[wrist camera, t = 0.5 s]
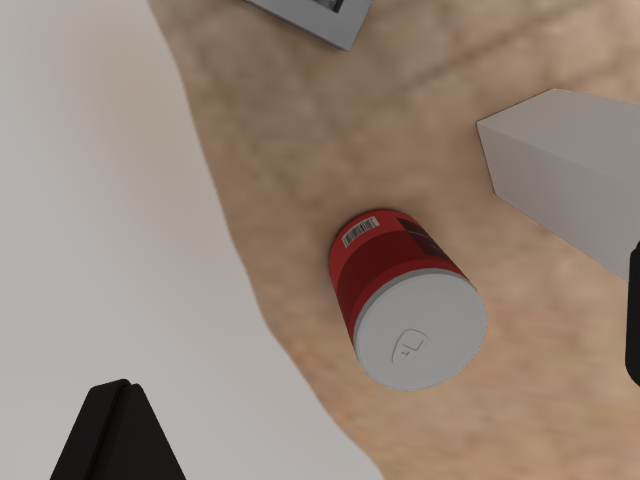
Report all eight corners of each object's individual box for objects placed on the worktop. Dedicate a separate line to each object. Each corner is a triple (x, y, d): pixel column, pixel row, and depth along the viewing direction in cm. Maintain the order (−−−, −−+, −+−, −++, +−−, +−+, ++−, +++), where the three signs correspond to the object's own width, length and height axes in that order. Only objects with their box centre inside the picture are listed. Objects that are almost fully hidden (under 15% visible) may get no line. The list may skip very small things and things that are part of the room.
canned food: (314, 291, 38) (338, 384, 28) (343, 195, 35) (381, 260, 25) (405, 307, 40) (458, 400, 30) (439, 217, 37) (510, 286, 27)
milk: (552, 86, 34) (989, 160, 14) (568, 164, 37) (959, 320, 17) (472, 122, 35) (791, 245, 14) (493, 197, 37) (790, 391, 17)
